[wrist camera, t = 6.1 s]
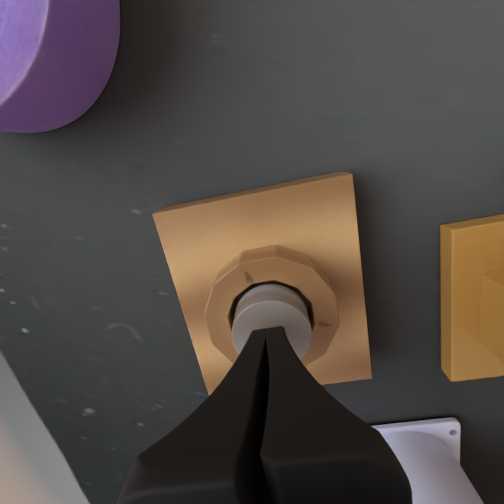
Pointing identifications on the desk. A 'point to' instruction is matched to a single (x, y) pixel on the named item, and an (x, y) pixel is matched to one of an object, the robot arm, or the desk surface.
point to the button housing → (272, 269)
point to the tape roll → (54, 60)
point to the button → (272, 316)
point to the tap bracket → (472, 298)
